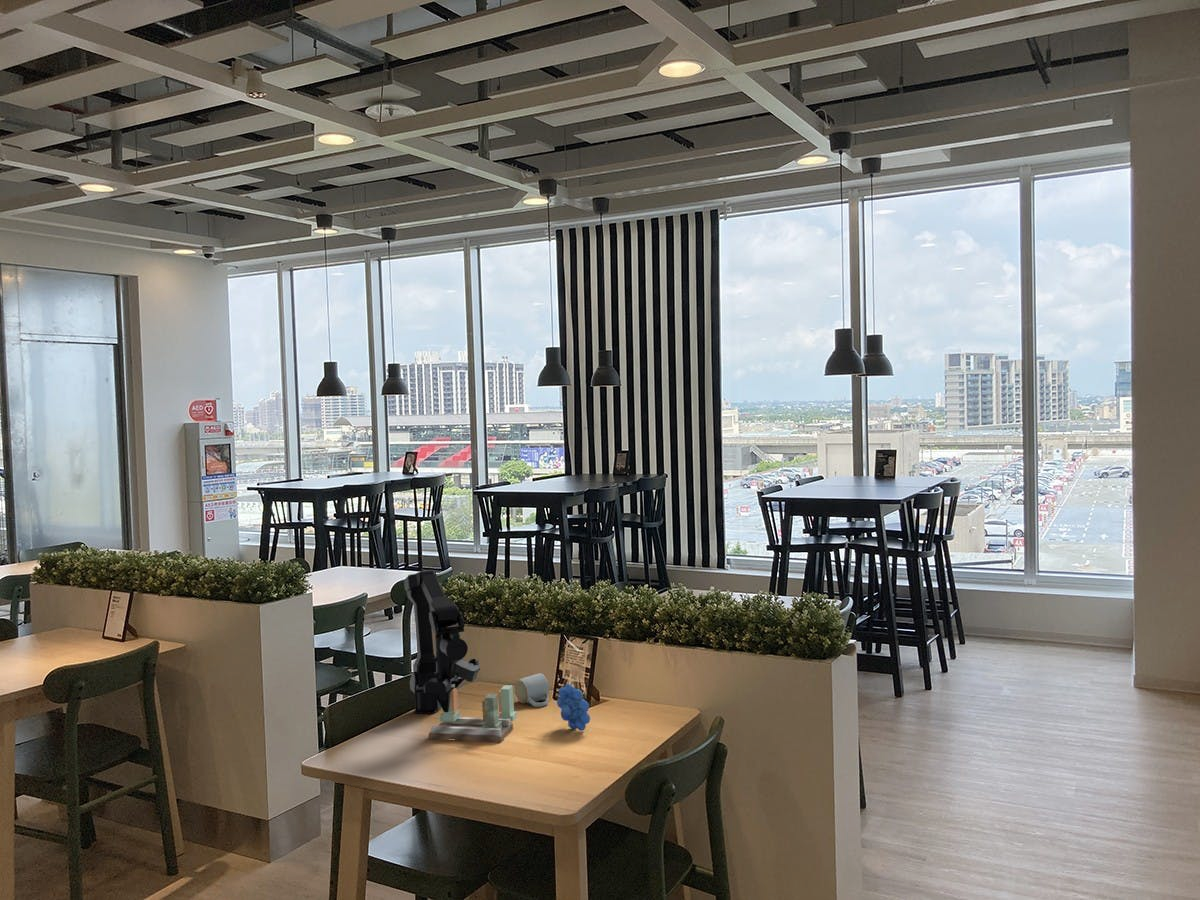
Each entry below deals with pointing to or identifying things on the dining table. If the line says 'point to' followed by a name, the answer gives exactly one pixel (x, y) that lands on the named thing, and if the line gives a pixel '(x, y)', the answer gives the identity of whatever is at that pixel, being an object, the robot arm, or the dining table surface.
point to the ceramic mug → (532, 690)
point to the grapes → (573, 707)
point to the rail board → (476, 725)
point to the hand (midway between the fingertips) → (449, 709)
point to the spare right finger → (506, 703)
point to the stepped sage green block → (451, 707)
